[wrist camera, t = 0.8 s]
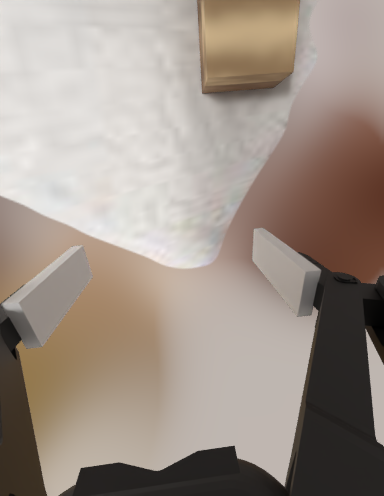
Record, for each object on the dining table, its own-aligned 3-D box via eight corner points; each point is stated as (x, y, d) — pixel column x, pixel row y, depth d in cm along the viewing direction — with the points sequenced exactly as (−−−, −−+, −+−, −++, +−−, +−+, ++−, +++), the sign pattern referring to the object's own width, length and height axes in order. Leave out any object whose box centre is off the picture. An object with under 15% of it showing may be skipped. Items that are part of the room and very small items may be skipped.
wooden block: (194, -54, 26) (199, -114, 21) (282, -59, 27) (310, -118, 21) (202, 93, 32) (207, 78, 27) (273, 87, 33) (293, 71, 27)
